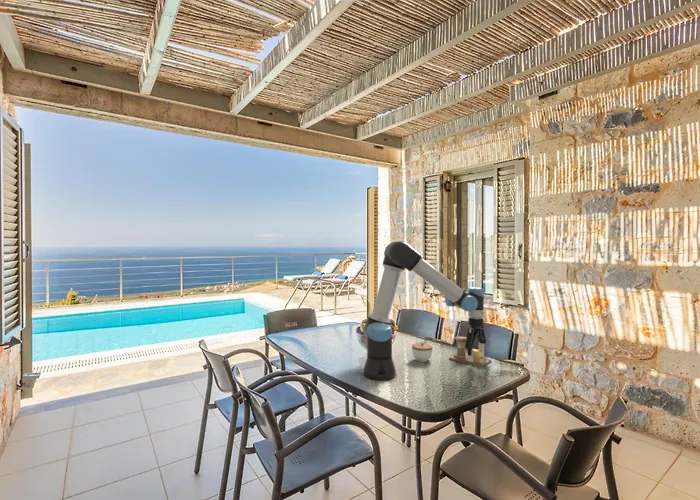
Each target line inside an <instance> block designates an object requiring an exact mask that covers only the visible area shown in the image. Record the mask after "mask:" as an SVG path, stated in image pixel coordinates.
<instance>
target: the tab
mask: <svg viewBox="0 0 700 500" xmlns="http://www.w3.org/2000/svg"><path fill="white" fill-rule="evenodd" d="M472 349H473V362H475V363H480V359H481V358H483V357H484V356H483V351H482V350H479V349H475V348H472Z"/></svg>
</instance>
